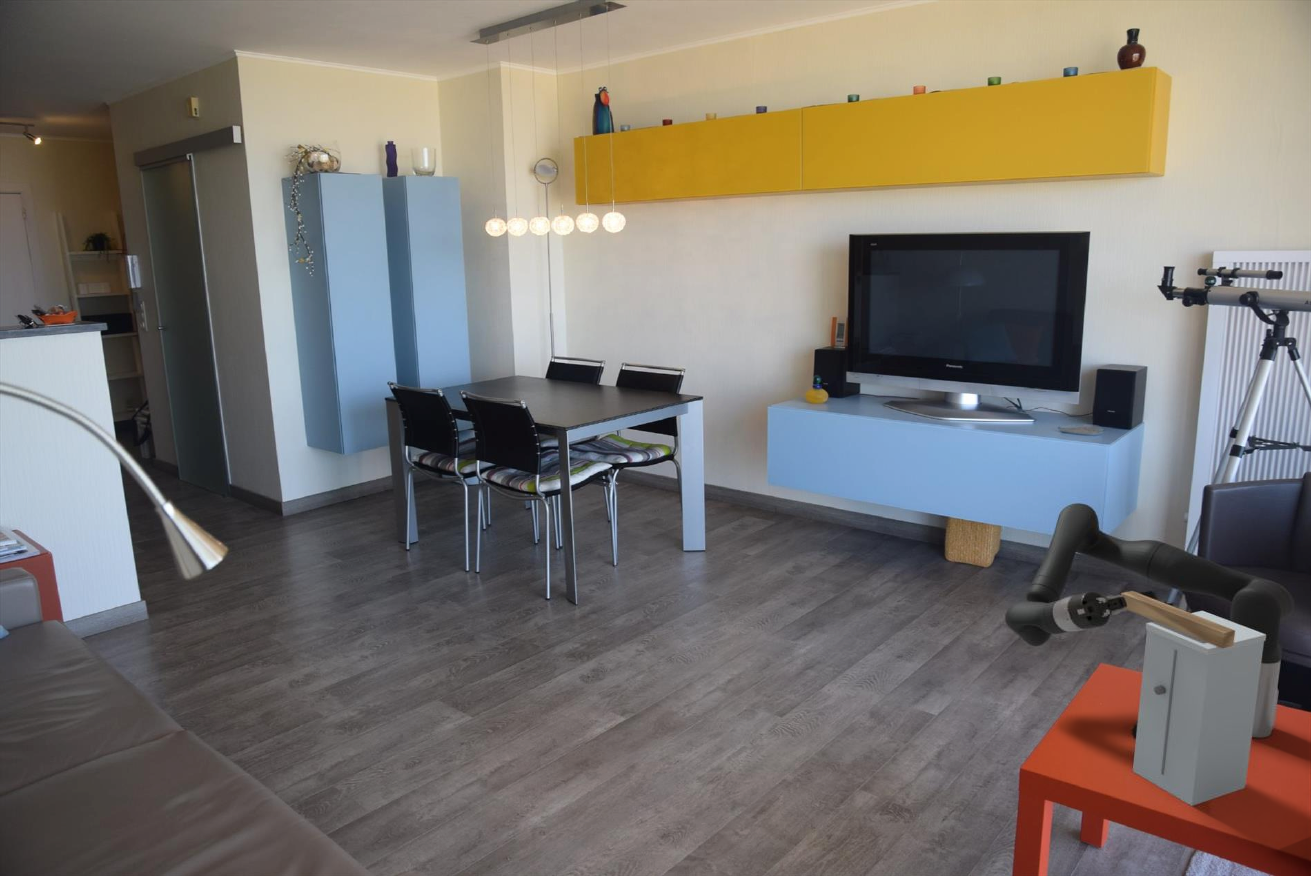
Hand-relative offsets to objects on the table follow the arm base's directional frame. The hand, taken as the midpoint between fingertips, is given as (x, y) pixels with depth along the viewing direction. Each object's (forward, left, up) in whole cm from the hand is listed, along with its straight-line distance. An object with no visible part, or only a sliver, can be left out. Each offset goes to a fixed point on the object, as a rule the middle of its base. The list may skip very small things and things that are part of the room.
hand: (1139, 598), depth 184 cm
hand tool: (-16, -8, -35) cm, 40 cm away
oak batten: (0, +8, -3) cm, 8 cm away
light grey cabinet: (-4, +11, -35) cm, 37 cm away
